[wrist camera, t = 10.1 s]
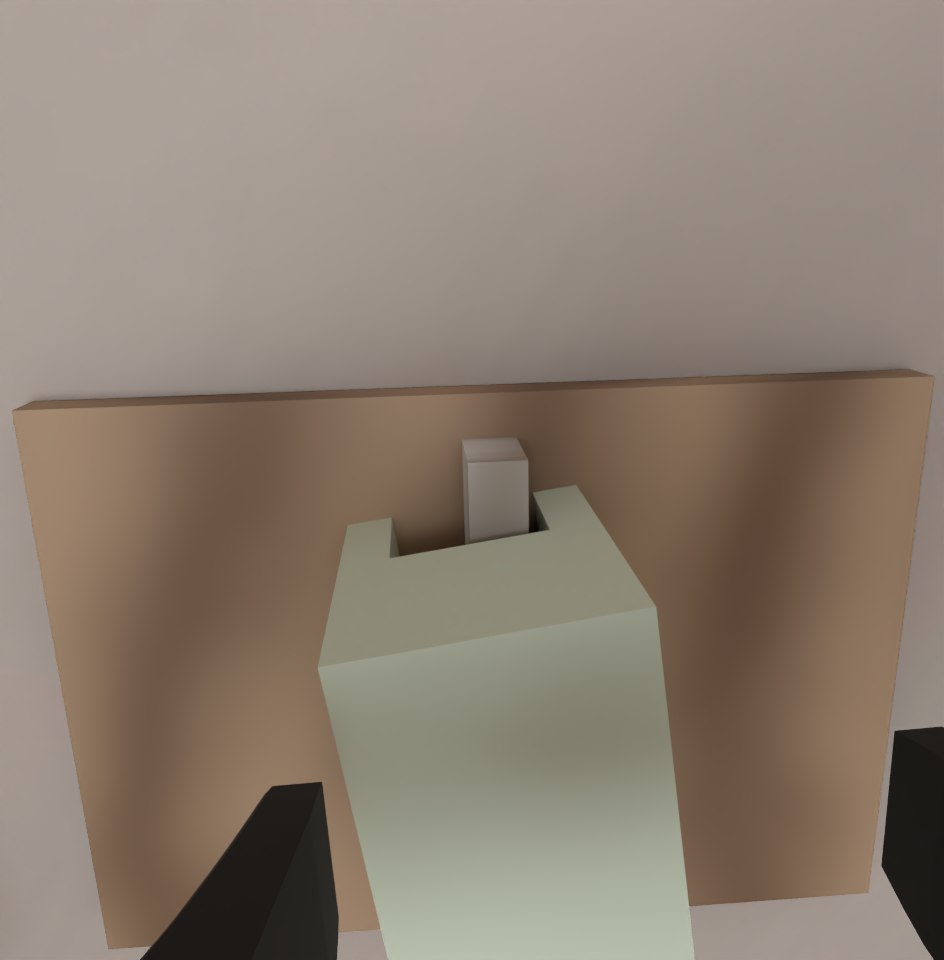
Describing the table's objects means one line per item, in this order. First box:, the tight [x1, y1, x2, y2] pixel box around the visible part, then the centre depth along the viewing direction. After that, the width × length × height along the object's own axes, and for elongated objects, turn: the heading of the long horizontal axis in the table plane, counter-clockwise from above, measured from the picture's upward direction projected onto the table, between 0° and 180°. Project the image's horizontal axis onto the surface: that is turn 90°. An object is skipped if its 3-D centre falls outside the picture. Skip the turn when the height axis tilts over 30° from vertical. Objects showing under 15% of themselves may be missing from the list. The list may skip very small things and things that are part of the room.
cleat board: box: [12, 369, 935, 949], centre depth 20 cm, size 20×14×3 cm
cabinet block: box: [318, 485, 695, 960], centre depth 17 cm, size 5×8×6 cm, turn 9°
